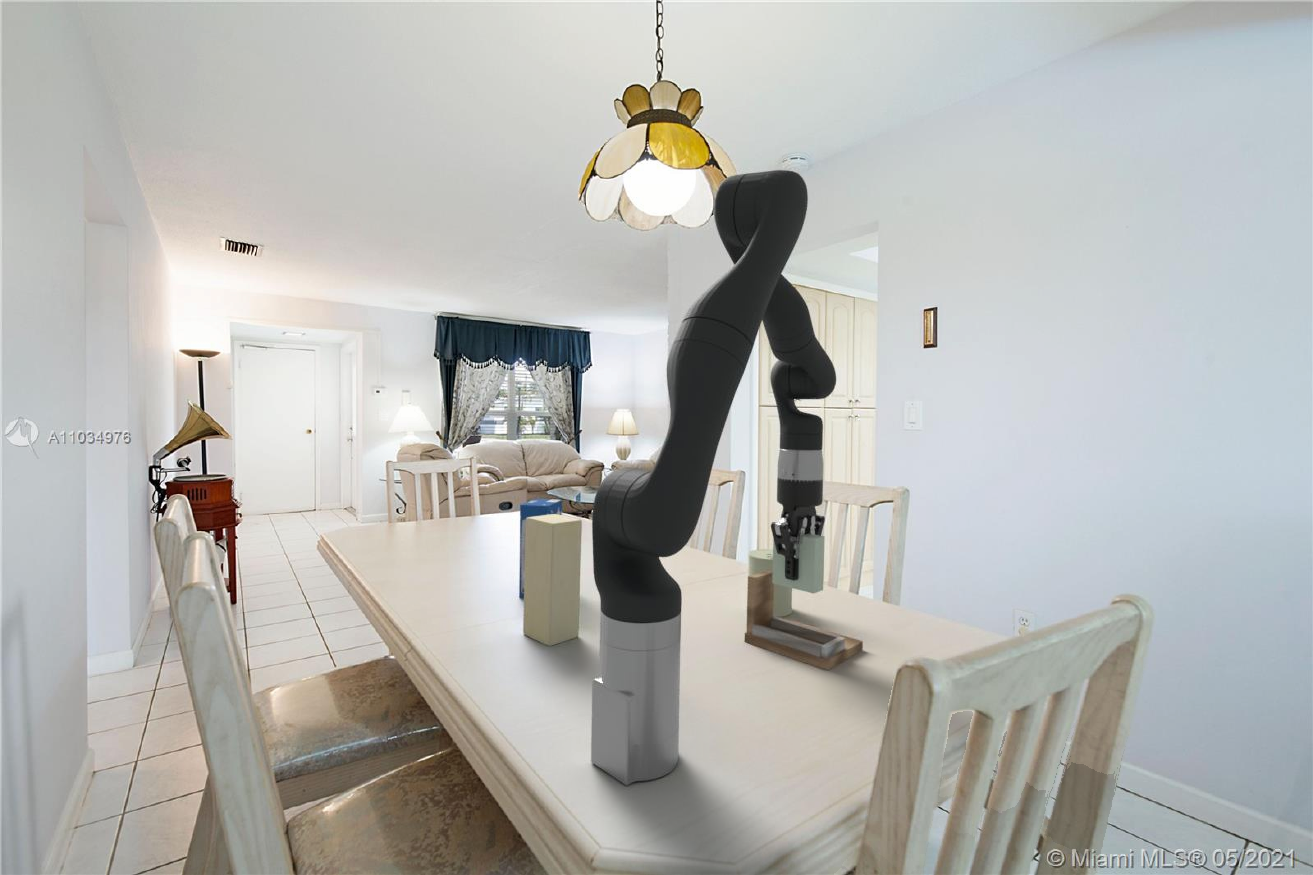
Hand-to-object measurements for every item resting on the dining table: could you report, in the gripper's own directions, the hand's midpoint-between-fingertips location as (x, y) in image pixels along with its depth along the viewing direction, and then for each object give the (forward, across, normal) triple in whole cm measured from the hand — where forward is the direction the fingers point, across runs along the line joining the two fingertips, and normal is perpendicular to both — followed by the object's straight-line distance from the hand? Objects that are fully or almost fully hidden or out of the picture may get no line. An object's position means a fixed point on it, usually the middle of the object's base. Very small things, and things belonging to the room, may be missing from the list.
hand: (797, 577), depth 100 cm
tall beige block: (+13, -27, +33) cm, 44 cm away
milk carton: (+13, -14, +56) cm, 59 cm away
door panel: (+2, 0, 0) cm, 2 cm away
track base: (+13, +2, 0) cm, 13 cm away
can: (+13, +14, +15) cm, 24 cm away
